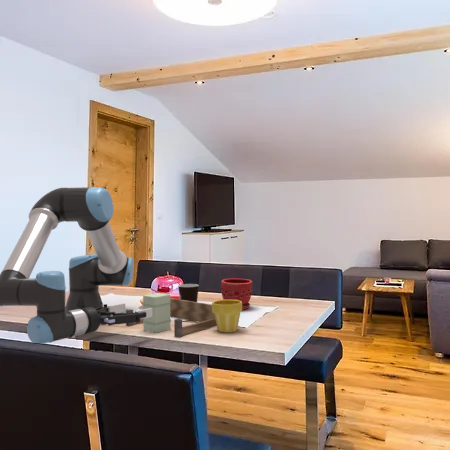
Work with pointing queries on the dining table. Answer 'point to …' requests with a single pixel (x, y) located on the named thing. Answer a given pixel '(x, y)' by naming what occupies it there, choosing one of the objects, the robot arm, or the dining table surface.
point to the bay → (188, 316)
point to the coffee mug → (188, 292)
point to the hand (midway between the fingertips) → (137, 309)
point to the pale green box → (157, 312)
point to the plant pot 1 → (237, 290)
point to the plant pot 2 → (227, 314)
